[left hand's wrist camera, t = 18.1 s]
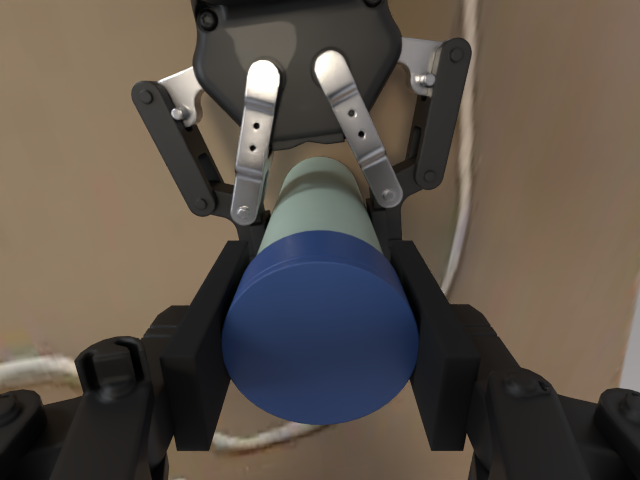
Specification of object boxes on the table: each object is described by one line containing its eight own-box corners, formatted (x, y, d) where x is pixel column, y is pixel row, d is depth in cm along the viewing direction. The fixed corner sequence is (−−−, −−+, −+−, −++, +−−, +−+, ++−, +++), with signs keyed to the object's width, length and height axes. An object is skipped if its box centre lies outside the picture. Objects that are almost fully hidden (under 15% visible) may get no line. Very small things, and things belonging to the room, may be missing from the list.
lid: (408, 361, 13) (426, 413, 11) (257, 381, 14) (246, 435, 11) (395, 216, 11) (412, 246, 9) (218, 243, 12) (196, 278, 9)
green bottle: (277, 223, 26) (225, 393, 12) (287, 150, 24) (241, 244, 10) (349, 235, 26) (384, 414, 12) (365, 164, 24) (429, 274, 10)
